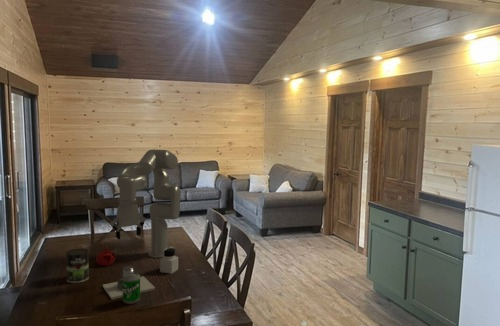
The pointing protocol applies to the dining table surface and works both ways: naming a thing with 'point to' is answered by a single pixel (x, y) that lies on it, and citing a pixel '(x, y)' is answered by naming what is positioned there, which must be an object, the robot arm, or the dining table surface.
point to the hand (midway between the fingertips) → (128, 237)
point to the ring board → (119, 292)
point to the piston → (128, 269)
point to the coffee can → (77, 265)
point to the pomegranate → (105, 258)
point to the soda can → (131, 288)
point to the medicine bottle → (169, 261)
